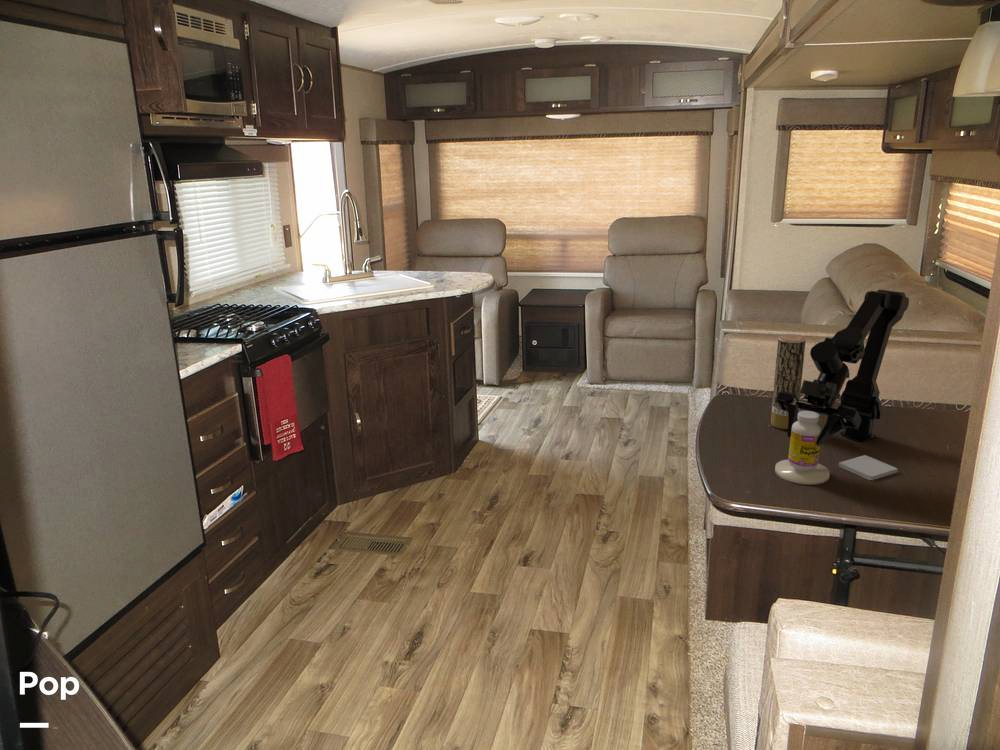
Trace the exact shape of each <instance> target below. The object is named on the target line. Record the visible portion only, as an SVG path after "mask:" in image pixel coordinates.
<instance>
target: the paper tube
mask: <svg viewBox="0 0 1000 750" xmlns="http://www.w3.org/2000/svg"><path fill="white" fill-rule="evenodd" d="M806 342H807V341H806V337H805V336H803V335H800V334H793V333H792V334H790V333H789V334H786V333H785V334H779V335H778V338H777V349H776V359H775V360H776V361H775V370H774V382H773V383H774V384H773V392H772V393H773V394H772V402H771V403H772V405H771V415H770V424H771V426H772V427H774V428H777V429H780V430H788V422H789V421H788V420H789V417H788V412H787V411H783V410H782V409H781V408H780V407H779V405H778V403H777V402H776V400H775V398H776V396H777V394H778V393H779V392H781V391H785V392H789V393H793V394H796V396H797V398H798V399H799V400H801V393H800V391H801V387H802V383H803V381H802V380H803V371H804V361H805V359H804V358H805V351H806V350H805V349H806Z"/></svg>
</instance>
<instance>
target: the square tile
mask: <svg viewBox="0 0 1000 750" xmlns="http://www.w3.org/2000/svg"><path fill="white" fill-rule="evenodd" d="M838 467H839V468H841V469H843V470H845V471H848V472H849V473H853V474H855V475H857V476H858V477H861V478H864V479H866V480H869V481H870V480H872V481H875V480H877V479H881V478H884V477H887V476H890V475H891V476H892V475H894V474H896V473H898V469H899V468H897V467H895V466H892V465H890V464H888V463H886V462H883V461H880V460H878V459H876V458H874V457H871V456H868V455H866V454H864V455H861V456H857V457H854V458H849V459H847V460H844V461H839V462H838ZM874 479H875V480H874Z"/></svg>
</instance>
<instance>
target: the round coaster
mask: <svg viewBox="0 0 1000 750" xmlns="http://www.w3.org/2000/svg"><path fill="white" fill-rule="evenodd" d="M774 473H775V475H776V476H777V477H779V478H781V479H783V480H785V481H786V482H791V483H794V484H798V485H804V486H805V485H806V486H807V485H809V486H811V485H820V484H824V483H826V482H828V481H829V480H830V475H831V471H830V470H829V469H828V468H827V467H826V466H824V465H822V464H820V463H819V462H818V465H817V467H816V468H814V469H811V470H802V469H797V468H795V467H793V466H791V465H790V464H789V463H788V458H787V459H782V460H780V461H778V462H776V464H775V467H774Z"/></svg>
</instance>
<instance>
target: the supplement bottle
mask: <svg viewBox="0 0 1000 750" xmlns="http://www.w3.org/2000/svg"><path fill="white" fill-rule="evenodd" d="M820 417H821V416H820V414H819V413H816V412H812V411H807V410H800V411H799V412H798V417H797V418H798V421H797V422H795V423H794V424H793V425H792V429H791V437H789V438H790V440H789V448H788V449H789V450H788V458H787V459H788V463H789V464H790V465H791V466H793V467H795V468H797V469H802V470H811V469H814V468H816V467H817V465H818V463H819V458H820V453H821V451H820V450H821V445H819V446H818V445H817V440H818V438H819V436H820V434H821V432H822V430H823V427H822V426H821V425H820V424H819V422H820Z"/></svg>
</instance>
